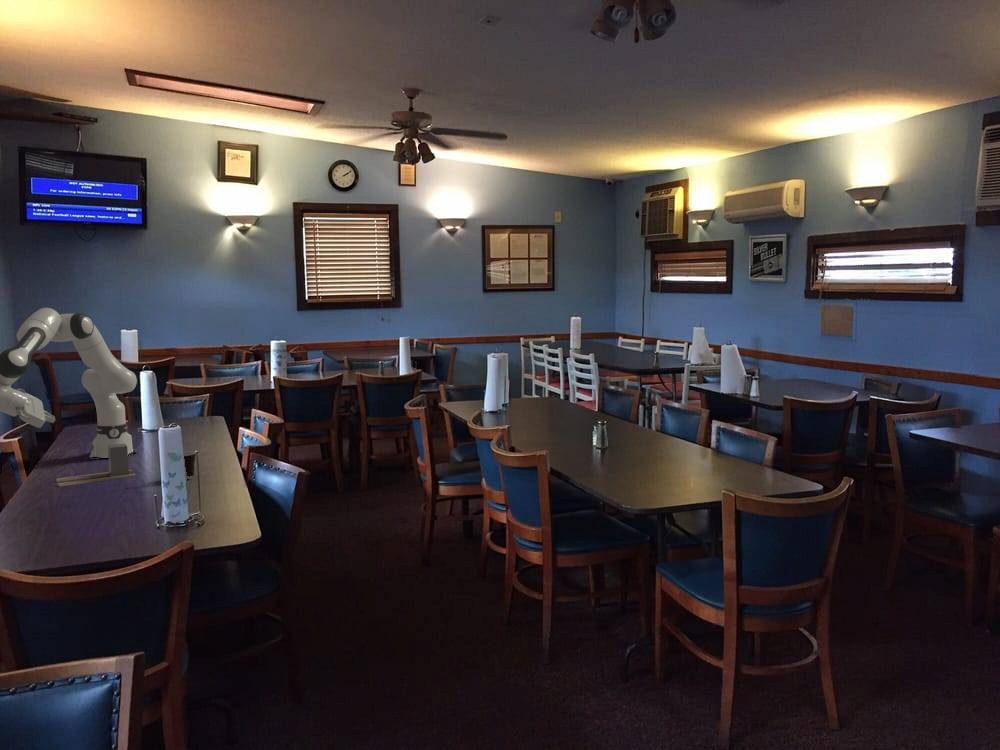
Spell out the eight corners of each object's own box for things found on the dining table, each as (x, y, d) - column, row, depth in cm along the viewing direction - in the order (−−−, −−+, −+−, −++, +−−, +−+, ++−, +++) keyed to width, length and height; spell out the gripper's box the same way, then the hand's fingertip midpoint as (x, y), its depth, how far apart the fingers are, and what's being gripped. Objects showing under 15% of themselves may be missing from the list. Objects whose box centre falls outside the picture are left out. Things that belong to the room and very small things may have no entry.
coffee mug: (191, 481, 294) (190, 456, 292) (169, 481, 294) (168, 456, 292) (203, 474, 305) (202, 449, 304) (181, 474, 305) (180, 449, 304)
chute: (56, 484, 289) (56, 478, 289) (131, 474, 304) (131, 469, 303) (58, 489, 281) (58, 484, 281) (136, 479, 296) (135, 474, 295)
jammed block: (109, 475, 297) (107, 445, 296) (126, 473, 301) (124, 443, 299) (111, 478, 292) (109, 447, 291) (128, 476, 296) (127, 446, 294)
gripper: (22, 406, 266) (61, 423, 275) (19, 386, 282) (57, 403, 291) (11, 421, 266) (51, 438, 274) (9, 401, 282) (47, 416, 290)
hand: (54, 420), depth 283 cm, fingers closed
